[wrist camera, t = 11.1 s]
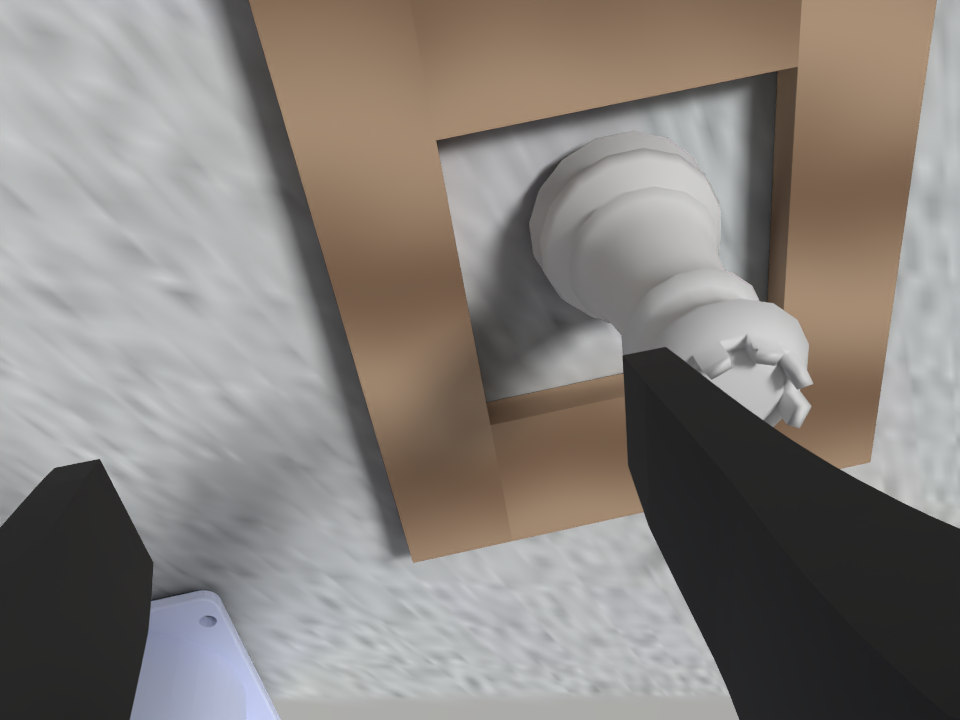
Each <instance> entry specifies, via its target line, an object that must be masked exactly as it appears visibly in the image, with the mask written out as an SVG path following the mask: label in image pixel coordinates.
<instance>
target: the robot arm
mask: <svg viewBox="0 0 960 720" xmlns="http://www.w3.org/2000/svg"><path fill="white" fill-rule="evenodd" d="M623 372H624V393H625V414H626V434H627V455H628V467H629V470H630V473H631V476H632V479H633V482H634V485H635V488H636V491H637V494H638V497H639V500H640V503H641V505H642V508H643V511H644V514H645V517H646V519H647V522H648V525H649V528H650V530H651V532H652V534H653V536H654V538H655V540H656V542H657V544H658V546H659V548H660V550H661V552H662V555H663V557H664V559H665V561H666V563H667V565H668V567H669V569H670V571H671V573H672V575H673V577H674V579H675V581H676V583H677V585H678V587H679V589H680V591H681V593H682V595H683V597H684V599H685V601H686V603H687V605H688V607H689V609H690V611H691V613H692V615H693V617H694V619H695V621H696V623H697V625H698V627H699V629H700V631H701V633H702V635H703V637H704V639H705V641H706V643H707V645H708V647H709V649H710V651H711V653H712V655H713V657H714V659H715V662H716V664H717V666H718V668H719V671H720V673H721V675H722V677H723V680H724V682H725V684H726V686H727V689H728V691H729V694H730V696H731V699H732V702H733V704H734V707H735V709H736V712H737V715H738V717H739V720H960V529H959V528H957V527H954V526H952V525H950V524H947V523H945V522H943V521H940V520H938V519H936V518H934V517H931V516H929V515H927V514H925V513H923V512H921V511H919V510H917V509H914V508H912V507H910V506H908V505H906V504H904V503H902V502H900V501H898V500H896V499H894V498H892V497H890V496H889V495H887V494H885V493H883V492H881V491H879V490H877V489H875V488H873V487H871V486H869V485H867V484H865V483H864V482H862V481H860V480H858V479H856V478H854V477H852V476H851V475H849V474H847V473H845V472H844V471H842V470H840V469H838V468H837V467H835V466H833V465H831V464H830V463H828V462H827V461H825V460H823V459H822V458H820V457H819V456H817V455H815V454H814V453H812V452H810V451H809V450H807V449H806V448H804V447H802V446H801V445H799V444H798V443H796V442H794V441H793V440H791V439H790V438H788V437H787V436H785V435H784V434H782V433H781V432H780V431H778V430H777V429H775V428H774V427H772V426H771V425H770V424H768V423H767V422H765V421H764V420H762V419H761V418H760V417H758V416H757V415H755V414H754V413H753V412H751V411H750V410H748V409H747V408H746V407H744V406H743V405H741V404H740V403H739V402H737V401H736V400H735V399H733V398H732V397H731V396H729V395H728V394H727V393H725V392H724V391H723V390H721V389H720V388H719V387H718V386H716V385H715V384H714V383H712V382H711V381H710V380H708V379H707V378H706V377H705V376H703V375H702V374H701V373H699V372H698V371H697V370H696V369H694V368H693V367H692V366H690V365H689V364H688V363H687V362H685V361H684V360H683V359H681V358H680V357H679V356H678V355H676V354H675V353H674V352H672V351H671V350H670V349H668V348H667V347H662V348H657V349H652V350H647V351H642V352H637V353H632V354H627V355H623ZM152 576H153V561H152V559H151V557H150V555H149V554H148V552H147V550H146V548H145V546H144V544H143V542H142V540H141V538H140V536H139V534H138V532H137V530H136V528H135V526H134V524H133V523H132V521H131V519H130V517H129V515H128V513H127V511H126V509H125V507H124V505H123V503H122V501H121V499H120V497H119V495H118V493H117V491H116V490H115V488H114V486H113V484H112V482H111V480H110V478H109V476H108V474H107V472H106V470H105V468H104V466H103V464H102V462H101V460H100V459H98V460H93V461H88V462H82V463H77V464H72V465H67V466H62V467H57V468H54V469H53V470H52V471H51V472H50V473H49V474H48V475H47V476H46V477H45V478H44V479H43V480H42V481H41V482H40V483H39V485H38V486H37V487H36V488H35V489H34V490H33V491H32V492H31V493H30V494H29V496H28V497H27V498H26V499H25V500H24V501H23V502H22V503H21V505H20V506H19V507H18V508H17V509H16V510H15V511H14V513H13V514H12V515H11V516H10V517H9V518H8V519H7V521H6V522H5V523H4V524H3V525H2V526H1V527H0V720H281V719H280V717H279V715H278V713H277V711H276V709H275V707H274V705H273V703H272V701H271V699H270V697H269V695H268V693H267V691H266V689H265V687H264V685H263V683H262V681H261V679H260V677H259V675H258V673H257V671H256V669H255V667H254V665H253V663H252V661H251V659H250V657H249V655H248V653H247V651H246V649H245V647H244V645H243V643H242V641H241V639H240V637H239V635H238V633H237V631H236V629H235V627H234V625H233V623H232V621H231V619H230V617H229V615H228V613H227V611H226V609H225V607H224V605H223V603H222V601H221V599H220V597H219V596H218V595H217V594H215V593H213V592H211V591H206V590H202V591H196V592H191V593H187V594H182V595H177V596H173V597H168V598H164V599H159V600H155V601H151V594H152ZM207 616H212V617H207Z"/></svg>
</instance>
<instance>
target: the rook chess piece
mask: <svg viewBox="0 0 960 720" xmlns="http://www.w3.org/2000/svg"><path fill="white" fill-rule="evenodd" d="M529 228H530V235H531V242H532V250H533V256H534V258H535V259H536V261H537V262H538V264H539V265H540V267H541V268H542V270H543V272H544V274H545V275H546V277H547V278H548V280H549V281H550V283H551V284H552V286H553V287H554V289H555V290H556V292H557V293H558V295H559V296H560V298H562V299H563V300H564V301H566V302H567V303H569V304H570V305H572V306H574V307H575V308H577V309H579V310H580V311H582V312H584V313H586V314H587V315H589V316H591V317H592V318H598V319H602V320H604V321H606V322H607V323H612V325H613V326H614V327H615V328H616V329H617V331H618V332H619V333H620V334H621V335H622V348H623V355H627V354H632V353H637V352H642V351H647V350H652V349H657V348H662V347H667V348H668V349H670V350H671V351H672V352H674V353H675V354H676V355H678V356H679V357H680V358H681V359H683V360H684V361H685V362H687V363H688V364H689V365H690V366H692V367H693V368H694V369H696V370H697V371H698V372H699V373H701V374H702V375H703V376H705V377H706V378H707V379H708V380H710V381H711V382H712V383H714V384H715V385H716V386H718V387H719V388H720V389H721V390H723V391H724V392H725V393H727V394H728V395H729V396H731V397H732V398H733V399H735V400H736V401H737V402H739V403H740V404H741V405H743V406H744V407H746V408H747V409H748V410H750V411H751V412H753V413H754V414H755V415H757V416H758V417H760V418H761V419H762V420H764V421H765V422H767V423H768V424H770V425H771V426H772V427H774V426H775V425H776V424H777V423H778V422H779V421H780V420H781V419H782V418H783V420H784V421H785V423H786V424H787V425H790V426H793V427H796V428H799V429H800V427H801V425H802V423H803V421H804V420H805V418H806V416H807V414H808V412H809V410H810V408H811V407H812V406H811V405H810V403H809V402H808V401H807V399H806V398H805V397H804V396H803V394H802V393H801V392H800V389H801V388H804V387H806V386H809V385H812V384H813V382H812V380H811V378H810V375H809V373H808V371H807V365H808V352H809V343H808V341H807V339H806V337H805V335H804V333H803V330H802V328H801V326H800V324H799V322H798V320H797V319H796V318H794V317H793V316H791V315H790V314H788V313H787V312H785V311H784V310H782V309H781V308H780V307H778V306H777V305H775V304H774V303H768V302H761V301H759V299H758V297H757V295H756V293H755V291H754V288H753V286H752V285H750V284H749V283H747V282H746V281H744V280H743V279H741V278H740V277H738V276H737V275H736V274H734V273H733V272H727V271H726V270H725V269H724V267H723V265H722V263H721V261H720V258H719V245H720V243H721V209H720V205H719V201H718V199H717V197H716V195H715V193H714V191H713V189H712V187H711V185H710V183H709V181H708V179H707V177H706V175H705V173H703V172H702V171H701V170H700V168H699V166H698V164H697V162H696V160H695V158H694V157H693V156H692V155H690V154H689V153H688V152H686V151H685V150H684V149H682V148H681V147H679V146H678V145H677V144H675V143H674V142H673V141H671V140H670V139H669V138H667V137H661V136H656V135H651V134H646V133H641V132H635V131H630V132H625V133H621V134H616V135H611V136H606V137H602V138H597V139H594V140H593V141H591V142H589V143H588V144H586V145H585V146H583V147H582V148H580V149H578V150H577V151H575V152H574V153H572V154H570V155H569V156H567V157H566V158H564V159H563V160H562V161H561V162H560V163H559V164H558V166H557V167H556V168H555V170H554V171H553V172H552V174H551V175H550V176H549V177H548V179H547V180H546V181H545V183H544V184H543V185H542V187H541V188H540V189H539V191H538V195H537V198H536V202H535V205H534V208H533V212H532V215H531V219H530V222H529Z"/></svg>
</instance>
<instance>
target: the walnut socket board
mask: <svg viewBox="0 0 960 720" xmlns="http://www.w3.org/2000/svg"><path fill="white" fill-rule="evenodd" d="M936 2H937V0H249V3H250V7H251V10H252V14H253V17H254V20H255V24H256V27H257V31H258V34H259V38H260V41H261V44H262V48H263V51H264V55H265V58H266V62H267V65H268V68H269V72H270V75H271V79H272V82H273V85H274V89H275V92H276V96H277V99H278V103H279V106H280V109H281V113H282V116H283V120H284V123H285V126H286V130H287V133H288V137H289V140H290V144H291V147H292V150H293V154H294V157H295V161H296V164H297V168H298V171H299V174H300V178H301V181H302V185H303V188H304V191H305V195H306V198H307V202H308V205H309V209H310V212H311V215H312V219H313V222H314V226H315V229H316V233H317V236H318V239H319V243H320V246H321V250H322V253H323V256H324V260H325V263H326V267H327V270H328V274H329V277H330V280H331V284H332V287H333V291H334V294H335V297H336V301H337V304H338V308H339V311H340V315H341V318H342V321H343V325H344V328H345V332H346V335H347V339H348V342H349V345H350V349H351V352H352V356H353V359H354V362H355V366H356V369H357V373H358V376H359V380H360V383H361V386H362V390H363V393H364V397H365V400H366V403H367V407H368V410H369V414H370V417H371V421H372V424H373V427H374V431H375V434H376V438H377V441H378V445H379V448H380V451H381V455H382V458H383V462H384V465H385V468H386V472H387V475H388V479H389V482H390V486H391V489H392V492H393V496H394V499H395V503H396V506H397V509H398V513H399V516H400V520H401V523H402V527H403V530H404V533H405V537H406V540H407V544H408V547H409V551H410V554H411V557H412V561H413V563H415V562H419V561H424V560H428V559H433V558H437V557H442V556H446V555H451V554H456V553H460V552H465V551H469V550H474V549H478V548H483V547H487V546H492V545H496V544H501V543H505V542H510V541H515V540H519V539H524V538H528V537H533V536H537V535H542V534H546V533H551V532H555V531H560V530H564V529H569V528H574V527H578V526H583V525H587V524H592V523H596V522H601V521H605V520H610V519H614V518H619V517H624V516H628V515H633V514H637V513H642V512H644V511H643V508H642V505H641V503H640V500H639V497H638V494H637V491H636V488H635V485H634V482H633V479H632V476H631V473H630V470H629V467H628V455H627V434H626V414H625V393H624V373H622V374H617V375H612V376H608V377H603V378H598V379H594V380H589V381H584V382H580V383H575V384H570V385H566V386H561V387H556V388H552V389H547V390H542V391H538V392H533V393H528V394H524V395H519V396H515V397H510V398H505V399H501V400H496V401H491V402H487V403H486V399H485V394H484V389H483V384H482V378H481V373H480V368H479V363H478V357H477V352H476V347H475V342H474V336H473V331H472V326H471V321H470V315H469V310H468V305H467V300H466V294H465V289H464V284H463V279H462V273H461V268H460V263H459V258H458V252H457V247H456V242H455V237H454V231H453V226H452V221H451V216H450V210H449V205H448V200H447V195H446V189H445V184H444V179H443V174H442V168H441V163H440V158H439V153H438V147H437V142H436V140H441V139H446V138H451V137H455V136H460V135H465V134H470V133H475V132H480V131H485V130H490V129H495V128H500V127H504V126H509V125H514V124H519V123H524V122H529V121H534V120H539V119H544V118H549V117H553V116H558V115H563V114H568V113H573V112H578V111H583V110H588V109H593V108H598V107H602V106H607V105H612V104H617V103H622V102H627V101H632V100H637V99H642V98H646V97H651V96H656V95H661V94H666V93H671V92H676V91H681V90H686V89H691V88H695V87H700V86H705V85H710V84H715V83H720V82H725V81H730V80H735V79H740V78H744V77H749V76H754V75H759V74H764V73H769V72H774V71H778V73H777V96H776V118H775V140H774V162H773V185H772V207H771V229H770V252H769V274H768V296H767V302H768V303H774V304H775V305H777V306H778V307H780V308H781V309H782V310H784V311H785V312H787V313H788V314H790V315H791V316H793V317H794V318H796V319H797V320H798V322H799V324H800V326H801V328H802V330H803V333H804V335H805V337H806V339H807V341H808V343H809V352H808V365H807V371H808V373H809V375H810V378H811V380H812V382H813V384H812V385H809V386H806V387H804V388H801V389H800V392H801V393H802V394H803V396H804V397H805V398H806V399H807V401H808V402H809V403H810V405H811V406H812V407H811V408H810V410H809V412H808V414H807V416H806V418H805V420H804V421H803V423H802V425H801V427H800V429H799V428H796V427H793V426H790V425H787V424H786V423H785V421H784V420H783V418H782V419H781V420H780V421H779V422H778V423H777V424H776V425H775V426H774V428H775V429H777V430H778V431H780V432H781V433H782V434H784V435H785V436H787V437H788V438H790V439H791V440H793V441H794V442H796V443H798V444H799V445H801V446H802V447H804V448H806V449H807V450H809V451H810V452H812V453H814V454H815V455H817V456H819V457H820V458H822V459H823V460H825V461H827V462H828V463H830V464H831V465H833V466H835V467H837V468H838V469H841V468H846V467H851V466H855V465H860V464H864V463H869V462H870V461H871V454H872V447H873V440H874V433H875V426H876V419H877V412H878V406H879V399H880V392H881V385H882V378H883V371H884V364H885V357H886V350H887V343H888V336H889V329H890V322H891V315H892V308H893V301H894V294H895V287H896V280H897V273H898V266H899V259H900V252H901V245H902V239H903V232H904V225H905V218H906V211H907V204H908V197H909V190H910V183H911V176H912V169H913V162H914V155H915V148H916V141H917V134H918V127H919V120H920V113H921V106H922V99H923V92H924V85H925V79H926V72H927V65H928V58H929V51H930V44H931V37H932V30H933V23H934V16H935V9H936Z"/></svg>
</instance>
